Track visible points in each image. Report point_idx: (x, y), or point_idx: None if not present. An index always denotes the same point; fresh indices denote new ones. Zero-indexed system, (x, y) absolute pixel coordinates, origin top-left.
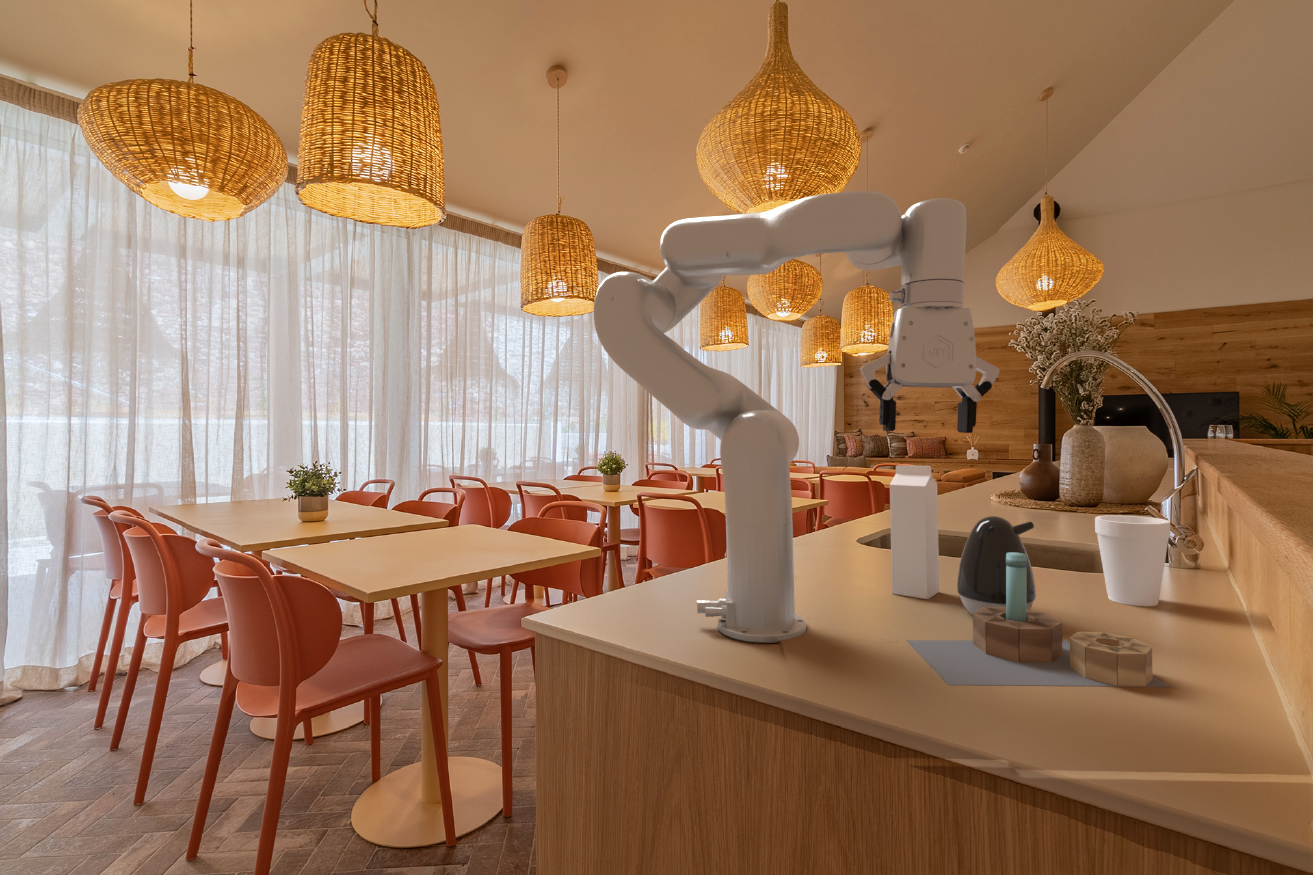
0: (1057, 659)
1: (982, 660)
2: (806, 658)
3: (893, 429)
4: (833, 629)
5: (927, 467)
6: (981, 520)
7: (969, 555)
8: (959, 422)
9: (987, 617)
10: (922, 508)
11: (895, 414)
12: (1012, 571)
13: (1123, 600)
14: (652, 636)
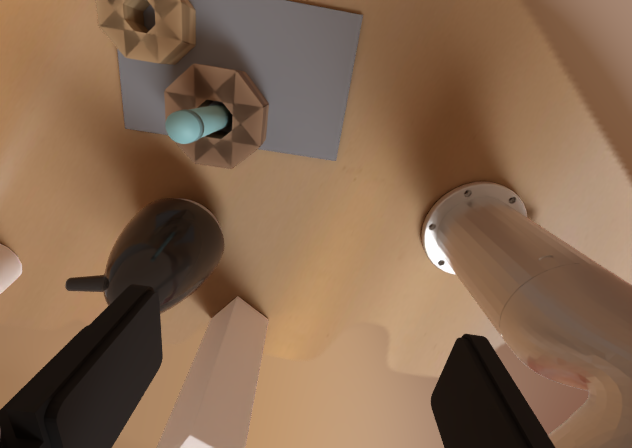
0: None
1: (284, 84)
2: (467, 133)
3: (469, 335)
4: (392, 217)
5: None
6: None
7: (198, 264)
8: (141, 379)
9: (251, 124)
10: (208, 397)
11: (493, 396)
12: (202, 116)
13: (10, 254)
14: (597, 223)
